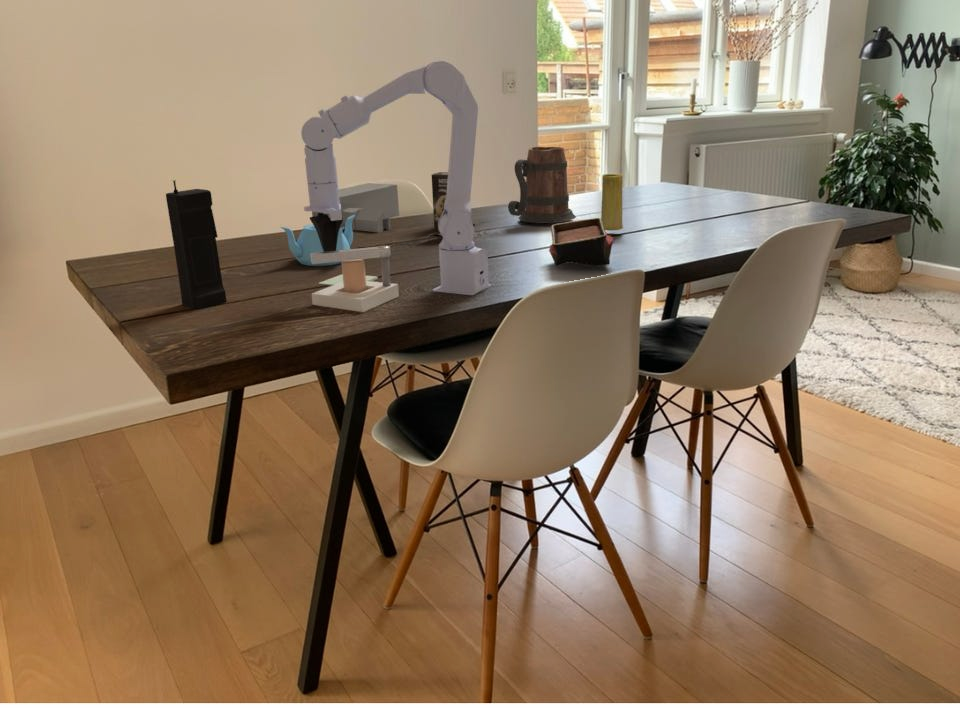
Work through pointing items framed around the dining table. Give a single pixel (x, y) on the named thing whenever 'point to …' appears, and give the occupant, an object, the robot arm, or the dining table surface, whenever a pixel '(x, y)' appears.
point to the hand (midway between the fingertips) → (329, 252)
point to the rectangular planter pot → (581, 243)
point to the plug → (354, 276)
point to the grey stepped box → (369, 206)
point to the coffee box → (439, 195)
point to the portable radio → (195, 247)
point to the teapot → (317, 242)
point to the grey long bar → (350, 254)
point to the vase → (612, 201)
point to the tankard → (542, 187)
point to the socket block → (362, 301)
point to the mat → (340, 279)
